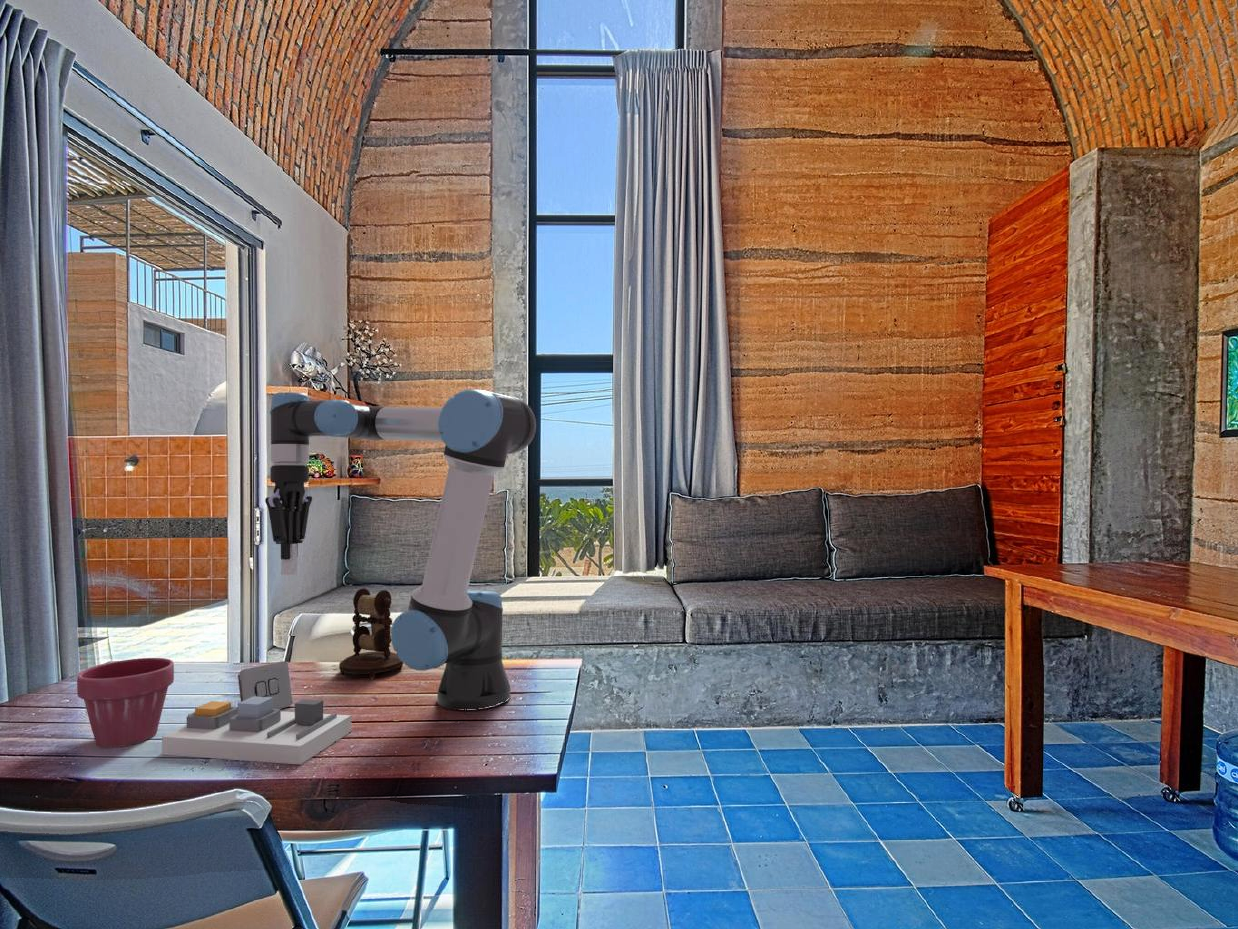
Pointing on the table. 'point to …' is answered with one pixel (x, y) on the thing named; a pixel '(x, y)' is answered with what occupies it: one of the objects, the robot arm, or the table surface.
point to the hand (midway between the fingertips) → (289, 574)
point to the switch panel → (255, 737)
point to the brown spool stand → (371, 636)
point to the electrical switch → (267, 683)
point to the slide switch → (308, 711)
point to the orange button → (213, 708)
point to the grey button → (255, 707)
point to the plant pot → (125, 699)
